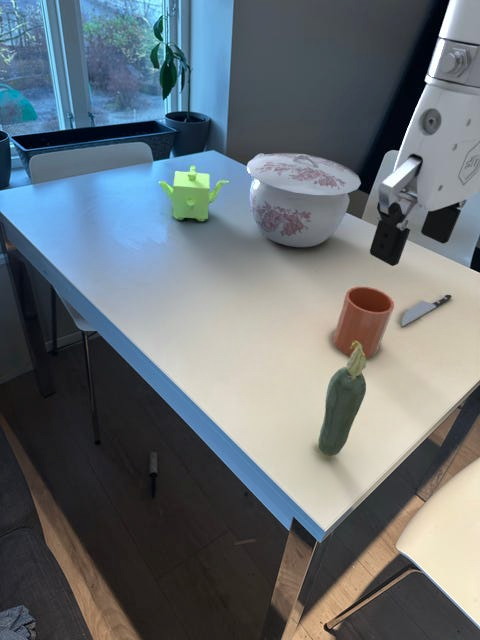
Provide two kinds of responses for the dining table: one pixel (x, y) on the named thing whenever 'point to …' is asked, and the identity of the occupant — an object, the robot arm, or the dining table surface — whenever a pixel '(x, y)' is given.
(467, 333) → the dining table surface
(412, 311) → the chef's knife
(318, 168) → the chamber pot
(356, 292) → the cup
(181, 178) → the kettle
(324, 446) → the vegetable
